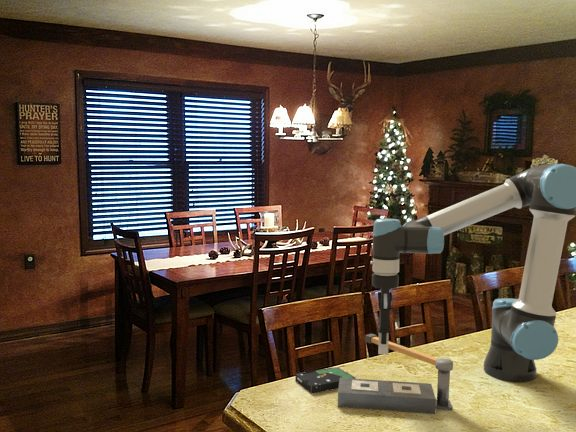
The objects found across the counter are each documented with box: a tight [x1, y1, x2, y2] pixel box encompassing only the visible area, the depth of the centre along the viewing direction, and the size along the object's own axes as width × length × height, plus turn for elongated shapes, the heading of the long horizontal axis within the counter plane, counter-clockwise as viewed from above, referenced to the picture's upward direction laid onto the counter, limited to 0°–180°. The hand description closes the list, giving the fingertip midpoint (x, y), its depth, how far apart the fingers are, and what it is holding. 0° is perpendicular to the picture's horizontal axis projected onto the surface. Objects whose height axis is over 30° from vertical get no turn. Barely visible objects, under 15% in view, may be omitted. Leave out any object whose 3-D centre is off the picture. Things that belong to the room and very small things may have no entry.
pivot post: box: [435, 369, 453, 411], centre depth 145 cm, size 4×4×10 cm
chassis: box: [337, 378, 437, 415], centre depth 147 cm, size 25×10×4 cm, turn 82°
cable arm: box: [364, 333, 454, 372], centre depth 154 cm, size 30×4×2 cm, turn 38°
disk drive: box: [294, 366, 357, 395], centre depth 160 cm, size 10×3×15 cm
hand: (383, 353), depth 158 cm, fingers closed
